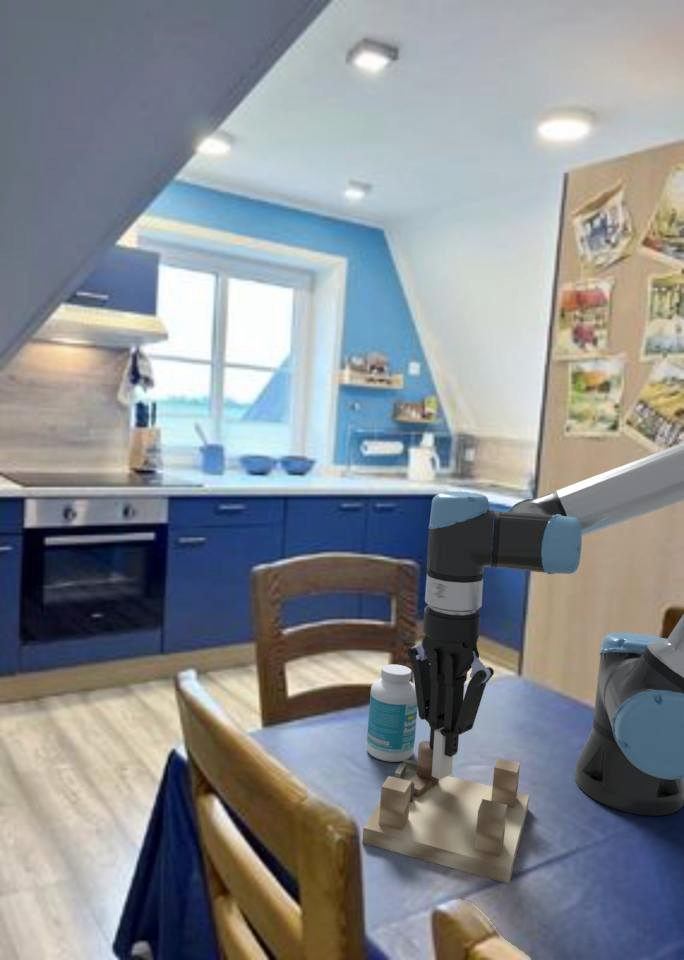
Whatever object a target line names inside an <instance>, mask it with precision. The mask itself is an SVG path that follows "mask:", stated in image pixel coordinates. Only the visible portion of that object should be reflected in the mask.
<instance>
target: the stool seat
mask: <svg viewBox="0 0 684 960" xmlns="http://www.w3.org/2000/svg"><path fill="white" fill-rule="evenodd" d="M520 767H521V762H518V761H515V760H514V761H513V760H511V759H510V760H508V759H504V758H500V757H497V759H496V762H495V765H494V767H493V768H494V769H493V776H492V777H493V778H492V785H488V784H483V783H479V782H475V781H471V780H466V779H462V778H458V777H453V776H450V775H448V776H446V777H444V778H443V779H441V780H439V783H438V784H437V785H434V786H431V787H430V788H429V789H427V790H426V791H425V792H424V793H423V794H422V795H420V796H417V795H414V785H415V784H414V783H413V782H412V781H409V780H410V779H411V778H412V777H414V776H415V775H416V771H417V761H415V760H411V759H405V760H404V761H402V762H401V763H399V766H398V767H397V769H396V770H395V772H394V775H393V776H390V775H388V776H387V777H386V780H385V781H383V784H382V785H381V791H380V800H379V802H378V804H377V805H376V807H375V809H374V811H373V812H372V814H371V815H370V816H369V818H368V820H367V821H366V823H365V825H364V826H363V829H362V840H361V841H362V842H361V843H362V844H366V845H369V846H373V847H375V848H376V847H377V848H379V849H382V850H385V851H386V850H387V851H390V852H393V853H397V854H401V855H405V856H408V857H412V858H415V859H419V860H422V861H426V862H429V863H432V864H433V863H434V864H437V865H441V866H442V867H443V866H444V867H446V868H447V867H448V868H450V869H451V868H452V869H455V870H459V871H461V872H465V873H469V874H473V875H476V876H480V877H483V878H486V879H490V880H495V881H498V882H500V883H505V884H508V885H510V882H511V878H512V874H513V869H514V865H515V863H516V862H515V861H516V858H517V853H518V850H519V846H520V841H521V838H522V835H523V834H522V833H523V830H524V825H525V822H526V817H527V814H528V809H529V802H530V801H529V800H530V794H525V793H521V792H518V789H519V788H518V787H519V778H520V769H521V768H520Z"/></svg>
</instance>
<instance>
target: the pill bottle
mask: <svg viewBox="0 0 684 960" xmlns="http://www.w3.org/2000/svg"><path fill="white" fill-rule="evenodd" d="M412 673H413V670H412V669H411V668H409V667H408V666H405V665H401V664H395V663H394V664H392V663H391V664H385V665H383V666H382V667H381V670H380V677H381V678H378V679H376V680H375V681H374V682H373V683H372V685H371V687H370V694H369V695H370V698H369V711H368V712H369V713H368V722H367V732H366V733H367V734H366V751H367V752H368V753H369V754H370V756H372V757H373V758H375V759H377V760H380V761H383V762H392V763H395V762H396V763H397V762H404V760H405V759H407V760H410V758H411V757H412V756H413V755H414V752H415V741H416V729H417V727H416V726H417V715H418V705H417V698H416V690H415V683H413V682H412V681H411V679H412Z"/></svg>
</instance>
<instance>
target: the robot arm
mask: <svg viewBox="0 0 684 960" xmlns="http://www.w3.org/2000/svg"><path fill="white" fill-rule="evenodd" d="M683 501H684V442H682V443H679V444H677V445H674V446H670V447H669V448H668V447H667V448H666V449H662V450H661V451H658V452H655V453H651V454H650V455H647V456H645V457H642V458H638V459H637V460H633V461H631V462H629V463H626V464H624V465H620V466H618V467H616V468H612V469H609V470H607V471H604V472H602V473H599V474H597V475H594V476H591V477H588V478H586V479H583V480H581V481H577V482H576V483H573V484H570V485H568V486H565V487H562V488H558V489H557V490H555V491H553V492H550V493H546V494H544V495H541V496H539V497H536V498H525V499H523V500H520V501H517V503H515V504H513V506H512V507H511V508H509V509H508V511H500V510H495V509H490V505H489V498H488V497H487V496H486V495H484V494H482V493H476V492H469V491H457V490H456V491H454V490H453V491H442V492H439V493H436V495H435V496H434V497H433V498H432V501H431V508H430V516H429V524H428V539H427V541H428V543H427V557H426V558H427V559H426V560H427V562H426V581H425V595H424V596H425V597H424V601H425V604H427V605H426V606H425V607H424V610H423V622H422V623H423V625H422V631H423V634H424V637H423V638H422V640H421V644H418V645H414V646H412V647H409V648H407V650H406V652H407V656H408V658H409V661H410V663H411V666H412V673H413V674H412V675H413V680H414V685H415V690H416V698H417V705H418V707H417V714H418V717H419V719H420V720H425V721H426V722H427V723H428V726H429V727H430V731H429V732H430V733H429V741H430V744H429V745H430V749H432V750H433V763H432V776H433V777H435V778H437V779H439V780H441V779H443V778H444V777H446V776H450V775H452V774H453V773H452V772H453V757H454V756H455V755H457V753H458V751H459V740H460V739H459V735H462V734H464V733H466V732H468V731H471V730H472V729H473V728H474V724H475V721H476V717H477V714H478V711H479V707H480V705H481V702H482V698H483V695H484V691H485V689H486V686H487V683H488V682H489V681H490V679H492V677H493V676H494V675H495V674H494V673H495V671H494V669H493V668H492V667H491V666H488V667H486V666H485V665H484V664H483V662H481V660H480V659H479V657H480V652H479V650H478V644H477V643H478V640H479V638H480V629H481V628H480V627H481V618H482V617H481V615H482V614H481V612H480V610H479V609H480V608H481V607H482V605H483V587H484V569H485V568H490V569H491V568H492V569H493V568H494V569H496V568H498V569H506V570H507V569H508V570H515V571H525V572H535V573H544V574H547V575H553V574H562V575H563V574H564V575H565V574H566V575H571V574H573V573H575V572H577V571H578V569H579V565H580V561H581V554H582V543H583V541H582V540H583V537H585V536H587V535H590V534H593V533H595V532H598V531H601V530H604V529H607V528H610V527H612V526H615V525H618V524H621V523H624V522H627V521H629V520H632V519H635V518H638V517H640V516H643V515H645V514H649V513H652V512H654V511H658V510H661V509H663V508H665V507H669V506H671V505H675V504H677V503H681V502H683ZM598 655H599V656H600V657H599V664H598V665H599V667H598V675H597V685H596V693H595V702H594V709H593V710H594V713H593V722H592V729H591V731H590V734H589V736H588V738H587V740H585V741H586V742H585V744H584V746H583V748H582V750H581V752H580V754H579V756H578V758H577V760H576V763H575V771H574V772H575V773H574V779H575V780H574V781H575V784H576V785H577V786H578V787H579V789H581V791H582V792H583V793H585V794H586V795H587V796H589V797H591V798H592V799H593V800H595V801H597V802H599V803H601V804H603V805H605V806H607V807H610V808H612V809H616V810H619V811H622V812H625V813H631V814H636V815H643V816H667V815H670V814H674V813H676V812H678V811H679V810H681V809H682V807H683V805H684V613H683V615H682V616H681V617H680V619H679V621H677V623H676V625H675V626H674V628H673V629H672V630H671V633H670V634H669V635H668V638H665V637H664V638H663V637H660V636H654V635H650V634H649V635H648V634H643V633H633V632H611V633H608V634H606V635H605V636H604V637H603V638H602V642H601V648H600V650H599V652H598ZM470 670H471V671H470ZM469 671H470V672H471V673H470V674H469V677H470V678H471V679H469V682H468V684H467V687H466V690H465V683H466V682H467V679H468V678H467V677H468V672H469ZM464 693H465V694H464Z"/></svg>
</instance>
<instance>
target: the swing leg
mask: <svg viewBox="0 0 684 960" xmlns="http://www.w3.org/2000/svg"><path fill="white" fill-rule="evenodd" d="M429 744H430V740H423V741H420V742H419V743H418V749H417V750H418V751H417V760H416V762H417V771H416V775H415V776H414V777H412V778H411V779H410V780H409V781H412V782H413V783H414V784H415V785H414V795H417V796H420V795H422V794H423V793H424V792H425V791H426V790H427V789H429V788H430V787H431V786H434V785H437V784H438V783H439V779H437V778H435V777H433V776H432V763H433V750H432V749H430V745H429Z"/></svg>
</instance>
